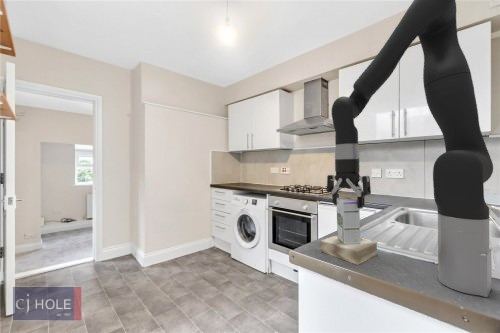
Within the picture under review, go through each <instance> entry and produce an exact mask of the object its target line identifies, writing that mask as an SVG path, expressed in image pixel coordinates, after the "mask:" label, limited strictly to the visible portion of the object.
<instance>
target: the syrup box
mask: <svg viewBox="0 0 500 333" xmlns="http://www.w3.org/2000/svg"><path fill="white" fill-rule="evenodd" d="M360 209H361V208H358V207H357V198H354V197H346V196H345V197H339V198H337V205H336V225H337V226H336V227H337V228H336V230H337V234H336V235H337V236H338V239H339V240H340V241H341V242H342V243H343V244H360V238H361V218H360V217H361V214H360Z"/></svg>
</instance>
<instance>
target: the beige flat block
mask: <svg viewBox="0 0 500 333" xmlns="http://www.w3.org/2000/svg"><path fill="white" fill-rule="evenodd" d="M377 246H378V243H377V242H376V241H373V240H369V239H368V240H367V239H365V238H361V237H360V244H343V243H342V242H341V241H340V240H339V239H338V236H337V234H334V235H332V236H330V237H326V238H324V239H321V240H320V252H321V253H323V254H326V255H329V256H331V257H334V258H337V259H340V260H343V261H346V262H348V263H351V264H354V265H357V266H359V265H361V264H362V263H365V262H366V261H368V260H370V259H372V258H374V257H375V256H377V255H378V248H377Z"/></svg>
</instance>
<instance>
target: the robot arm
mask: <svg viewBox="0 0 500 333" xmlns="http://www.w3.org/2000/svg"><path fill="white" fill-rule="evenodd" d="M456 2H457V1H456V0H413V1H412V2H411V4H410V5H409V6H408V8H407V10H406V12H405V13H404V14H403V16H402V18H400V21H399V22H398V24H397V25H396V27H395V29H394V30H393V31H392V33H391V34H390V36H389V38H388V39H387V40H386V41H385V43H384V45H383V46H382V48H381V49H380V50H379V51H378V53H377V54H376V56H375V57H374V58H373V60H372V61H371V62H370V63H369V65H368V66H367V67H366V68H365V69H364V71H363V72H362V73H361V74H360V75H359V76H358V78H357V79H356V80H355V81H354V83H353V85H352V87H353V91H352V92H351V94H350V95H349V96H343V95H342V96H339V97H338V98H337V99H335V100H334V102H333V103H332V107H331V119H332V123H333V129H334V132H335V135H334V136H335V138H334V141H335V143H334V144H335V145H334V146H335V149H334V172H335V175H334V174H328V175H327V176H326V179H327V180H326V192H328V193H331V196H332V200H331V201H332V203H333V205H334V206H337V198H340V195H339V193H340V191H341V189H349V190H352V191H353V192H355V194H356V195H357V198H356V199H357V207H358V208H359V209H363V208H364V207H365V203H366V202H365V198H366V196H369V195H371V193H372V191H371V177H370V176H369V175H363V176H362V175H360V147H359V131H358V128H357V127H356V125H355V121H354V120H355V119H356V118H358V116H360V114H361V113H362V112H363V110H364V109H365V108H366V107H367V105H368V104H369V102H370V100H371V98H372V97H373V96H374V95H375V93H377V92H378V91H379V89H380V88H381V87H382V86H383V85H384V84H385V83H386V82H387V80H389V78H390V77H391V75H392V74H393V73H394V71H395V70H396V67H397V65H398V64H399V62H400V61H401V60H402V58H403V56H404V55H405V53H406V51H407V50H408V48H409V47H410V46H411V44H412V43H413V42H414V41H415V40H416V38H417V37H418V39H419V43H420V45H421V50H422V53H423V68H422V69H423V70H422V71H423V73H422V74H423V76H422V78H423V79H422V80H423V89H424V94H425V100H426V104H427V106H428V109H429V111H430V114H431V115H432V117H433V119H434V121H435V122H436V124H437V126H438V128H439V129H440V132H441V133H442V137H443V140H444V146H445V152H444V153H442V154H440V155H439V156H438V157H437V158H436V160H435V162H434V164H433V168H432V182H433V184H432V185H433V198H434V203H435V205H436V207H437V279H438V281H439V282H440V283H441V284H442V285H444V286H446V287H448V288H449V289H452V290H453V291H457V292H461V293H463V294H469V295H473V296H481V297H484V298H488V297H489V295H490V293H491V290H492V289H493V288H492V248H490V208H489V206H488V204H487V203H486V201H485V194H484V193H485V191H484V190H485V189H484V187H485V186H484V184H485V183H486V182H488V180H490V179H491V177H492V174H493V172H494V164H493V160H492V158H491V155H490V153H489V149H488V148H487V145H486V142H485V138H484V137H483V133H482V130H481V126H480V120H479V110H478V104H477V100H476V93H475V86H474V82H473V77H472V72H471V70H470V66H469V63H468V60H467V58H466V55H465V54H464V51H463V49H462V48H461V45H460V43H459V38H458V31H457V30H458V28H457V4H456ZM335 181H336V183H335ZM360 182H361V183H362V186H361V185H360V184H359V183H360Z"/></svg>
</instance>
